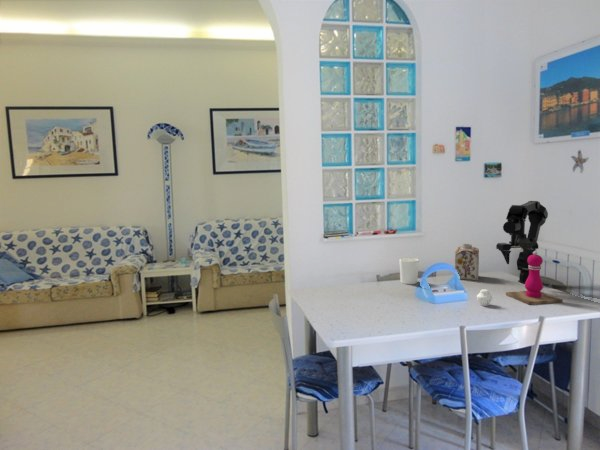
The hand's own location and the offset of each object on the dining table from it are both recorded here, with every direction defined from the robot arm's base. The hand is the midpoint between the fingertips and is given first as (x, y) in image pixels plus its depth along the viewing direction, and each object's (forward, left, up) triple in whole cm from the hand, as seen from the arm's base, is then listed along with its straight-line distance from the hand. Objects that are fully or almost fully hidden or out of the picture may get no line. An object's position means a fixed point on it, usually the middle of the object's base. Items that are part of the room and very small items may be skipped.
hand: (516, 263), depth 218 cm
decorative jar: (+11, -26, -12) cm, 31 cm away
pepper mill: (+4, +18, -11) cm, 21 cm away
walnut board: (+4, +18, -12) cm, 22 cm away
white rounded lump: (+30, +22, -12) cm, 39 cm away
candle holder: (+45, -23, -12) cm, 52 cm away
